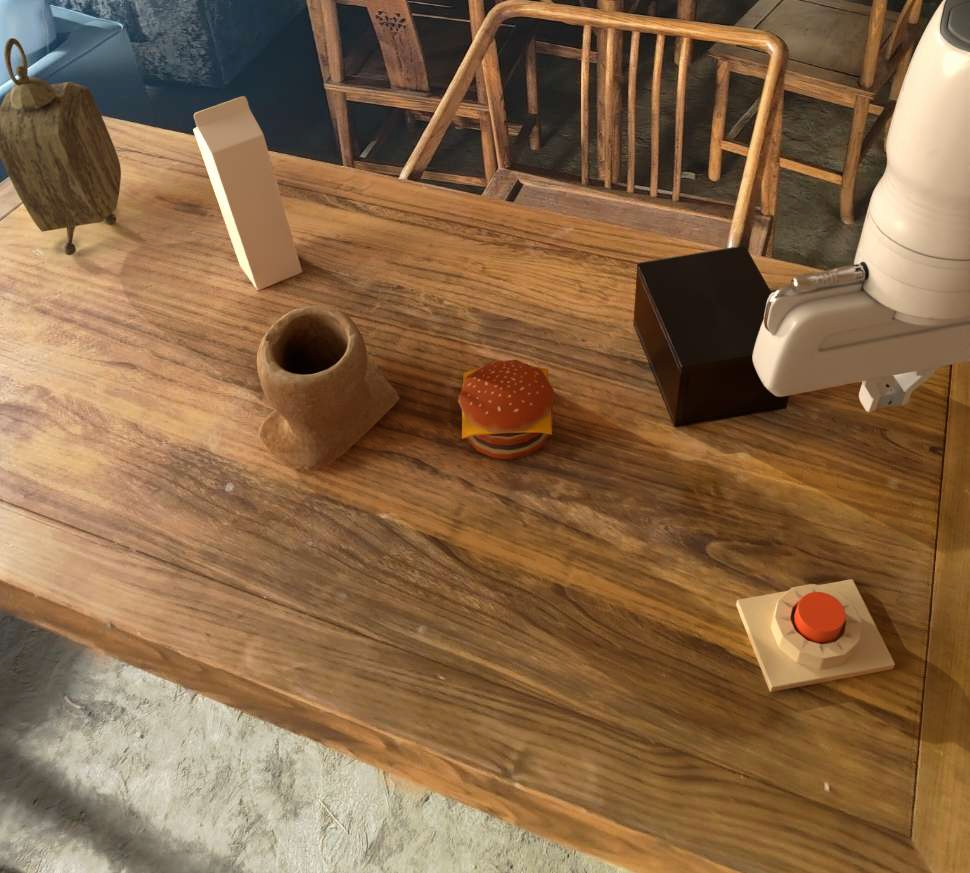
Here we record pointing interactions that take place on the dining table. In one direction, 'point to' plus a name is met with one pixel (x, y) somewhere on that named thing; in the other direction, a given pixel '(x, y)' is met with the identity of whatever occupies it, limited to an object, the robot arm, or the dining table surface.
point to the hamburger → (507, 408)
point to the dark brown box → (704, 334)
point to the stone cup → (318, 387)
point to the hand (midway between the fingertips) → (881, 402)
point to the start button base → (804, 660)
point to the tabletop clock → (57, 152)
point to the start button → (819, 617)
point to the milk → (247, 191)
